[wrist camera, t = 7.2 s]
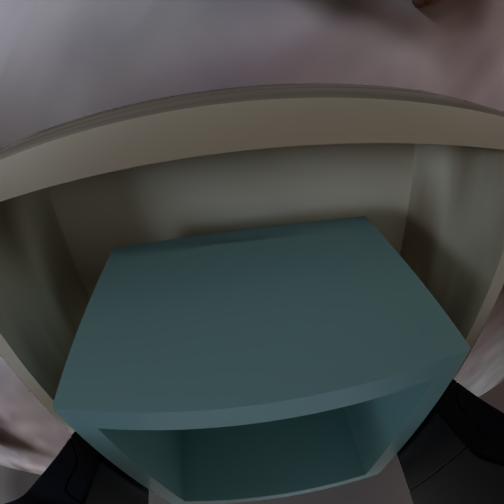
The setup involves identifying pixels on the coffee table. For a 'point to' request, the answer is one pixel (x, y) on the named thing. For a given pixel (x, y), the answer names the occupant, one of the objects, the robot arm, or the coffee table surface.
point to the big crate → (246, 195)
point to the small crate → (257, 361)
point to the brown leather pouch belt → (424, 3)
